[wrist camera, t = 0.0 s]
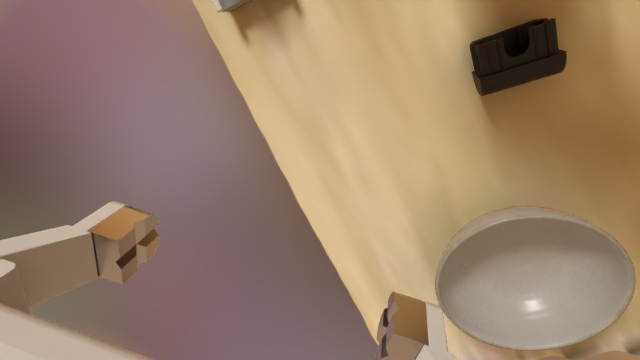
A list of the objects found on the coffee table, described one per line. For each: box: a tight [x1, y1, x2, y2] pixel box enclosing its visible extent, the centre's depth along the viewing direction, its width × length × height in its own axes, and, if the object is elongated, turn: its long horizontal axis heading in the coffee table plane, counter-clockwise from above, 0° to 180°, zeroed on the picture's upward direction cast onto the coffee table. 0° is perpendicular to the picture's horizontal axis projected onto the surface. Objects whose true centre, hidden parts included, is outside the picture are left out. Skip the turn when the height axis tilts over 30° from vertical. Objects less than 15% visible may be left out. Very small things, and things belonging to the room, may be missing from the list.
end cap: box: [470, 18, 567, 96], centre depth 46 cm, size 10×7×7 cm
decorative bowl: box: [435, 206, 635, 351], centre depth 56 cm, size 27×27×12 cm
